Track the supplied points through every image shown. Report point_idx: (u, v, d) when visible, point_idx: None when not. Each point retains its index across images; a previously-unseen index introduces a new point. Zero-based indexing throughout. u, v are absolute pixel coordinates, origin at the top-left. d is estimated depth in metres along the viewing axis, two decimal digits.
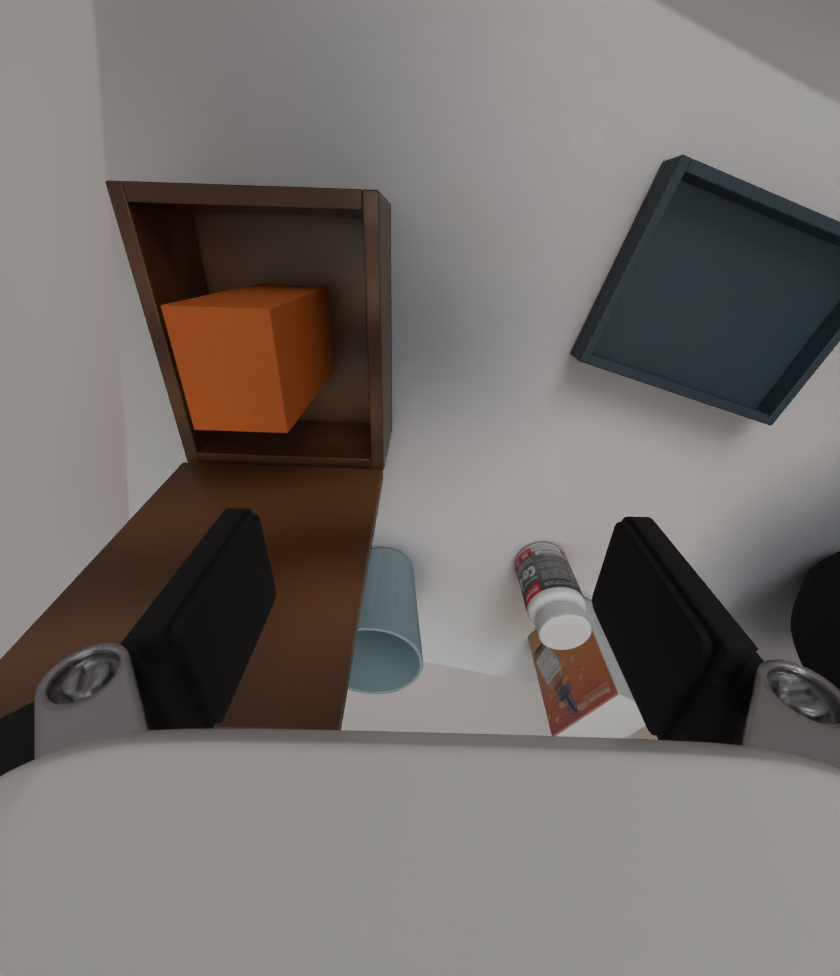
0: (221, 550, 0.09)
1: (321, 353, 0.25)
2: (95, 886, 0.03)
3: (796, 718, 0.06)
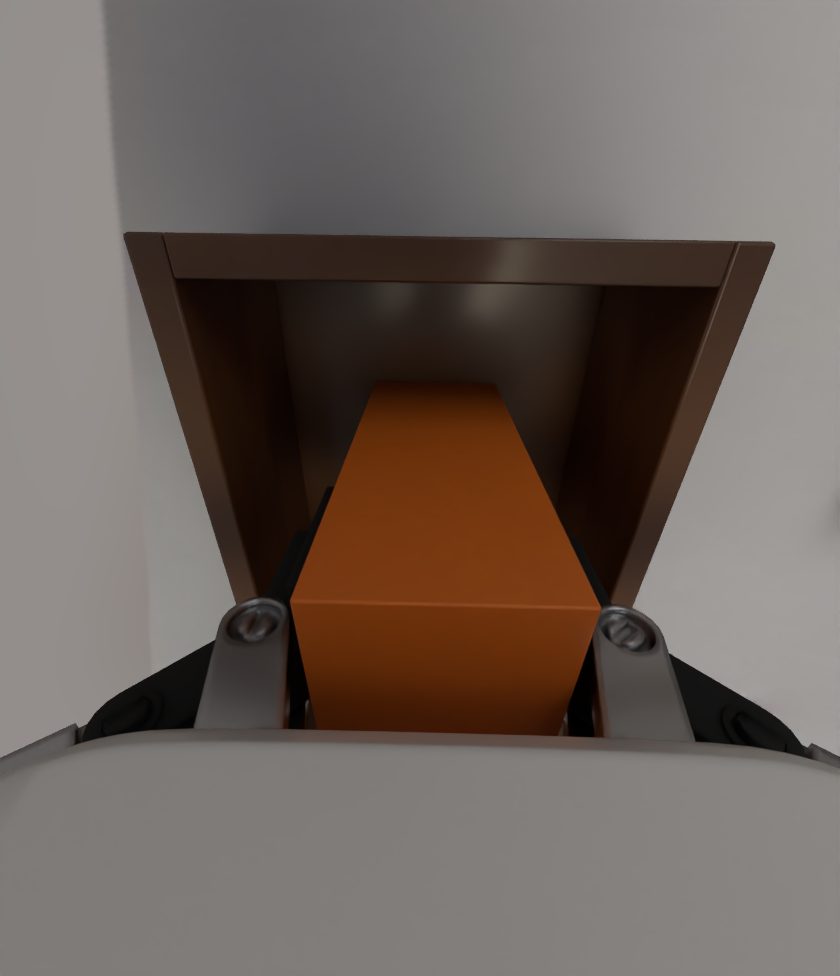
0: None
1: None
2: (95, 886, 0.03)
3: (627, 655, 0.07)
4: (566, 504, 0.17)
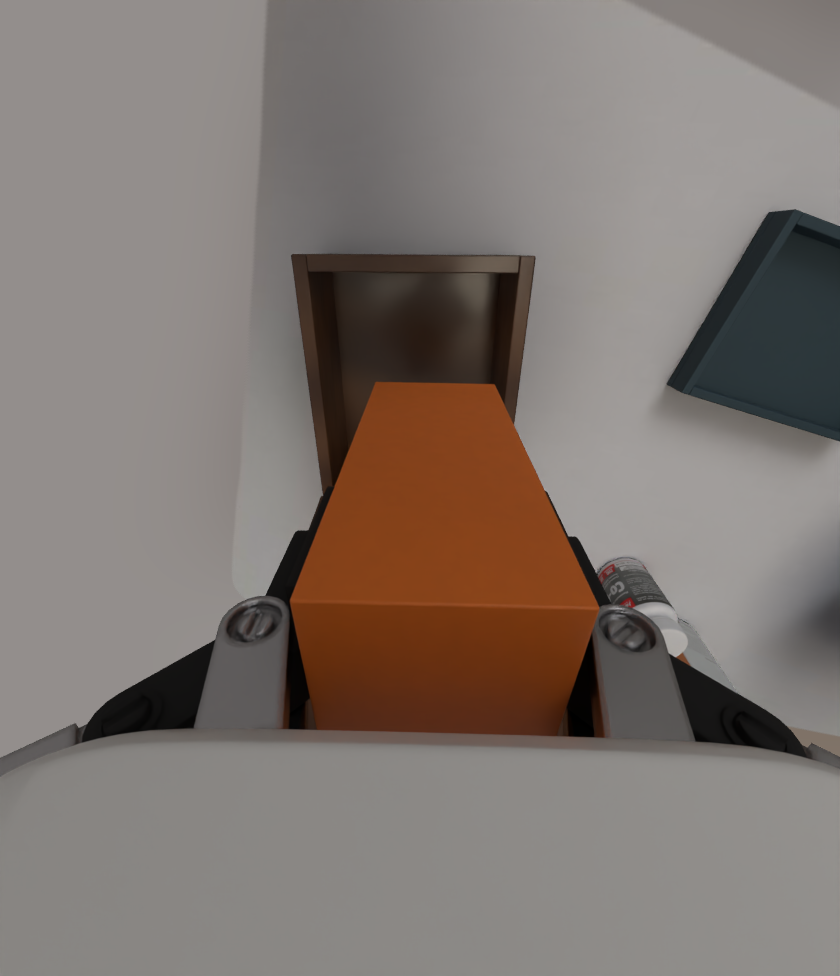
0: None
1: None
2: (95, 886, 0.03)
3: (627, 655, 0.07)
4: None
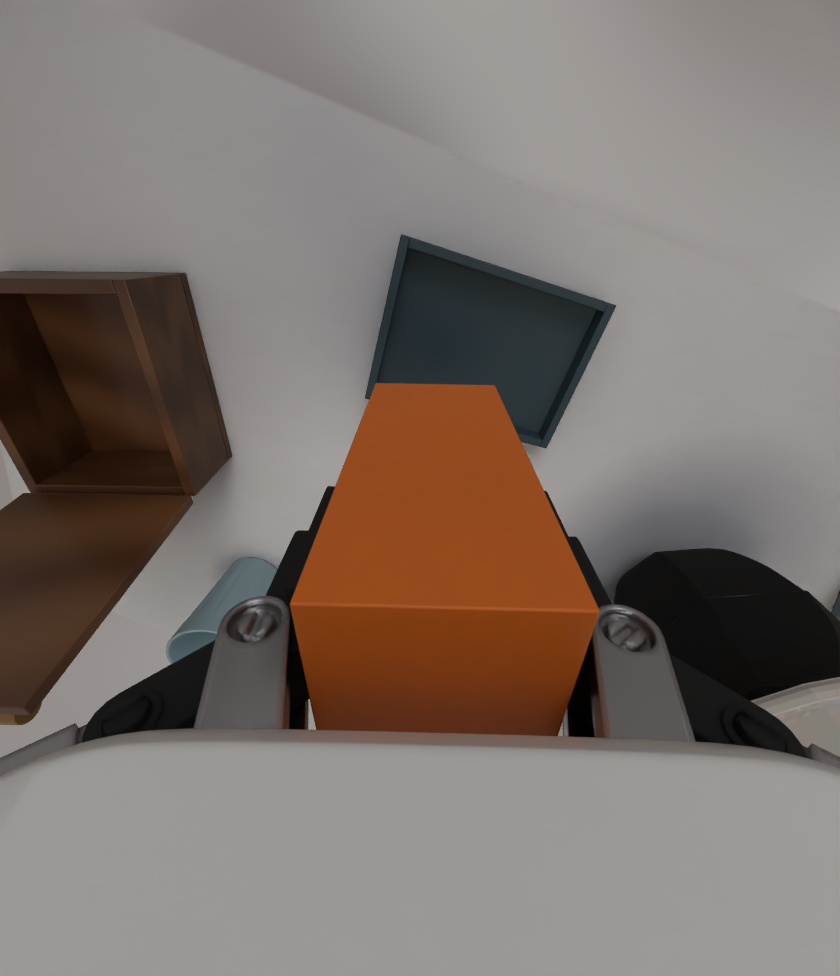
0: None
1: None
2: (95, 886, 0.03)
3: (627, 655, 0.07)
4: None
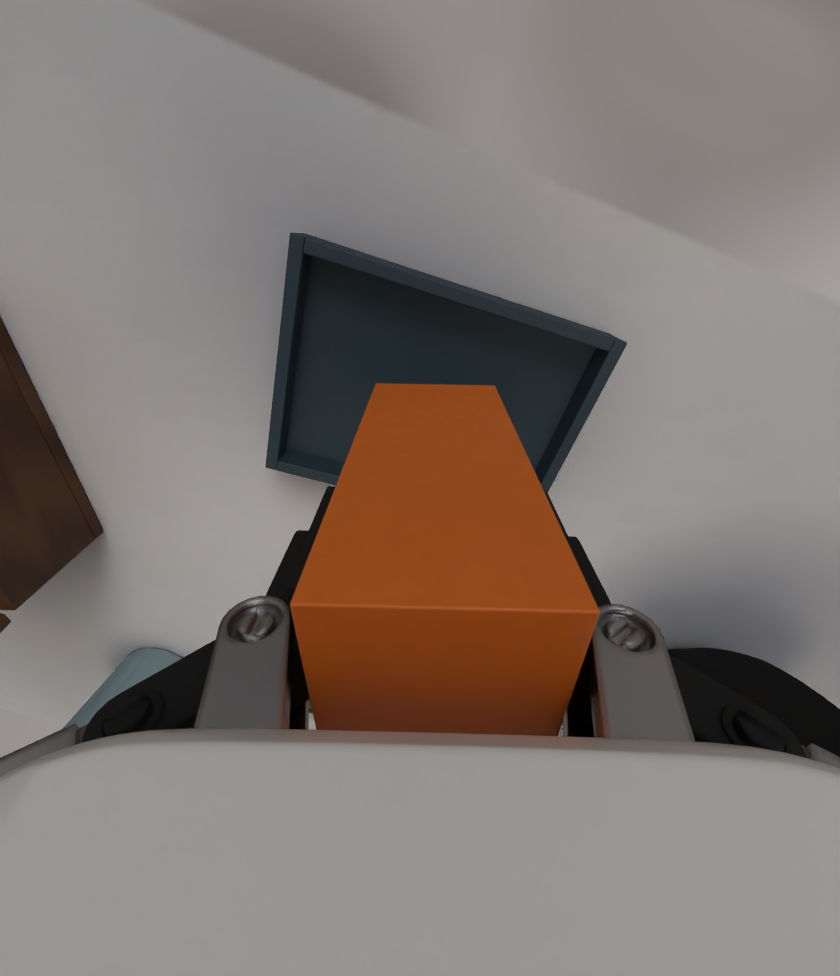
0: None
1: None
2: (95, 886, 0.03)
3: (626, 655, 0.07)
4: None
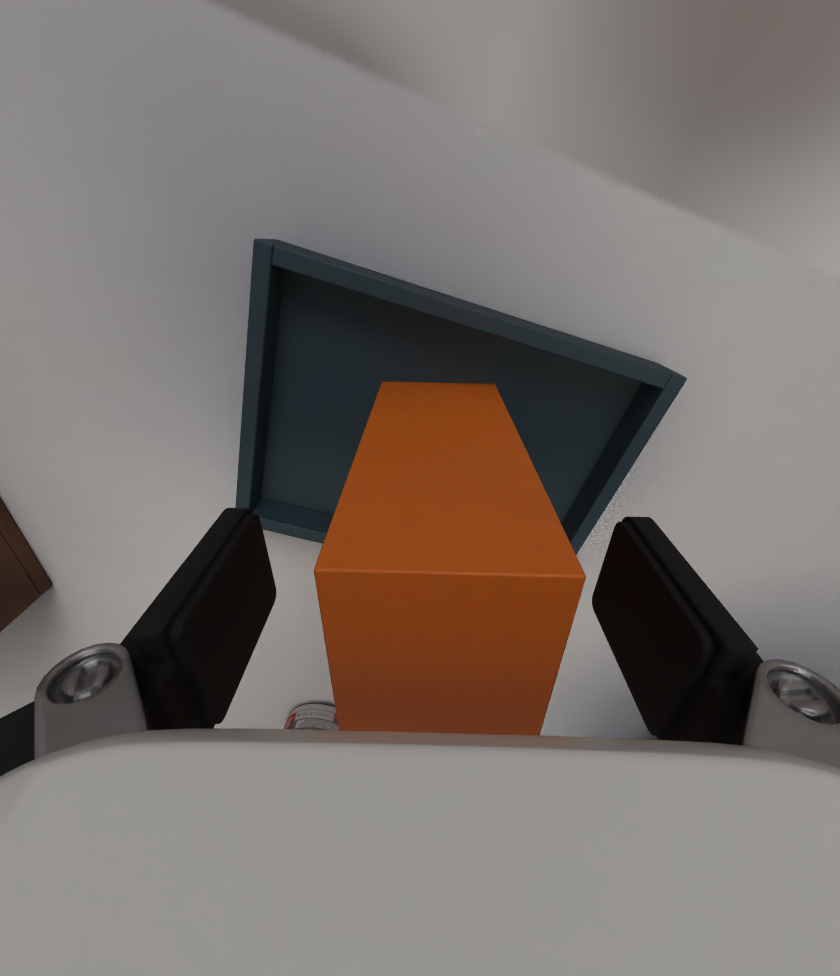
0: (221, 550, 0.09)
1: None
2: (95, 886, 0.03)
3: (795, 717, 0.06)
4: None
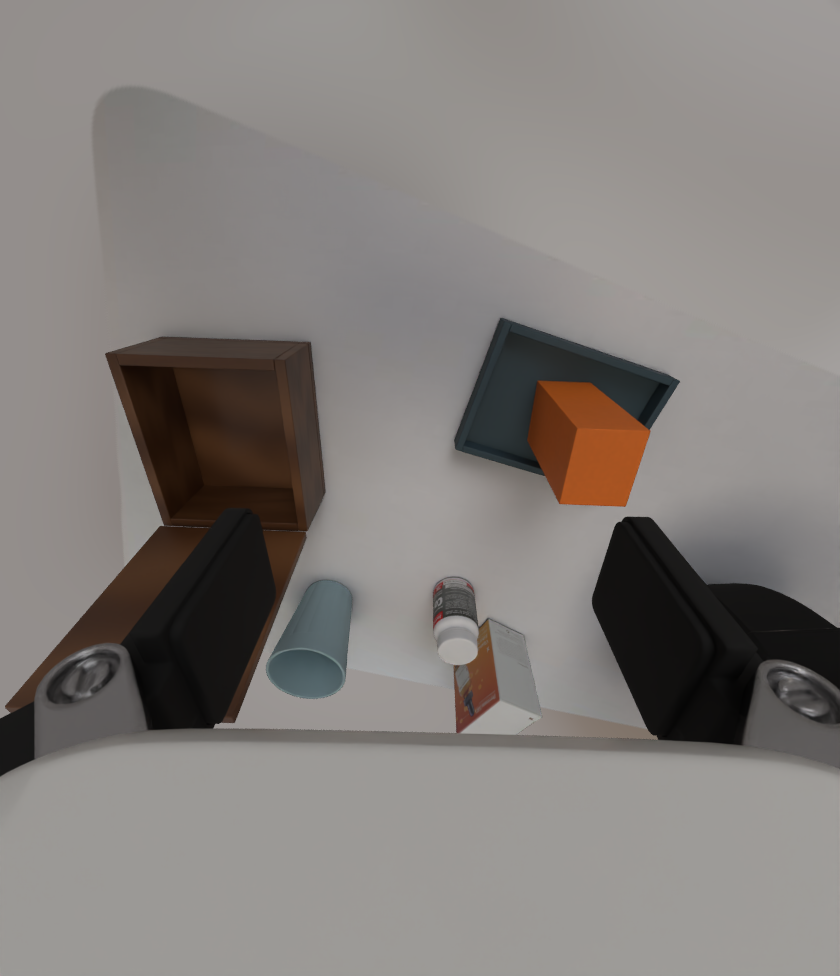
0: (221, 550, 0.09)
1: None
2: (95, 886, 0.03)
3: (795, 717, 0.06)
4: None
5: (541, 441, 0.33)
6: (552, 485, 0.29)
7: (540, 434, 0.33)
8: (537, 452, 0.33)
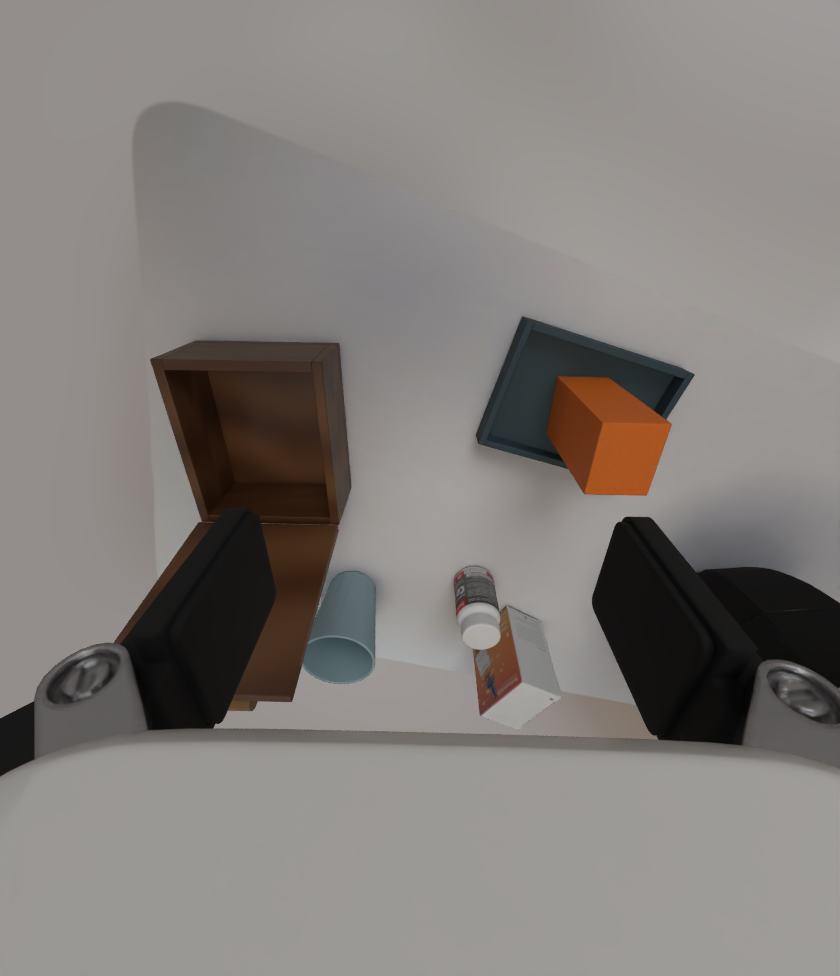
0: (221, 550, 0.09)
1: None
2: (95, 886, 0.03)
3: (796, 718, 0.06)
4: None
5: (562, 435, 0.34)
6: (576, 476, 0.31)
7: (562, 427, 0.34)
8: (558, 444, 0.35)
